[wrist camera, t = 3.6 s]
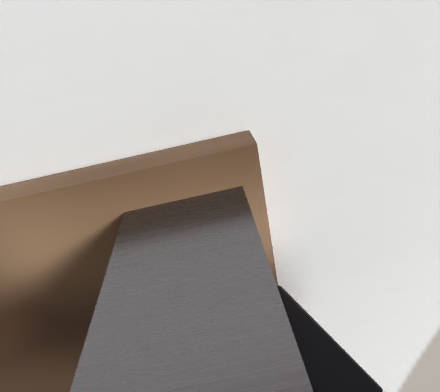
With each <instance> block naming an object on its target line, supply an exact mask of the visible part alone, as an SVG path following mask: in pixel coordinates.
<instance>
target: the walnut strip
mask: <svg viewBox="0 0 440 392" xmlns="http://www.w3.org/2000/svg"><path fill="white" fill-rule="evenodd" d="M277 285H278V284H277V277H276V270H275V263H274V257H273V250H272V243H271V236H270V229H269V223H268V216H267V209H266V202H265V196H264V189H263V182H262V175H261V169H260V162H259V155H258V148H257V143H256V141H255V140H254V138H253V136H252V134H251V133H250V131H249V130H248V131H244V132H239V133H235V134H230V135H226V136H221V137H217V138H213V139H208V140H204V141H199V142H195V143H190V144H186V145H182V146H177V147H173V148H168V149H164V150H159V151H155V152H151V153H146V154H142V155H137V156H133V157H128V158H124V159H120V160H115V161H111V162H106V163H102V164H97V165H93V166H89V167H84V168H80V169H75V170H71V171H67V172H62V173H58V174H53V175H49V176H44V177H40V178H36V179H31V180H27V181H22V182H18V183H13V184H9V185H5V186H0V392H313V389H312V386H311V383H310V380H309V377H308V375H307V372H306V369H305V366H304V363H303V360H302V357H301V354H300V351H299V348H298V345H297V343H296V340H295V337H294V334H293V331H292V328H291V325H290V322H289V319H288V316H287V314H286V311H285V308H284V305H283V302H282V299H281V296H280V293H279V290H278V287H277Z"/></svg>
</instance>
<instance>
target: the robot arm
mask: <svg viewBox="0 0 440 392" xmlns="http://www.w3.org/2000/svg"><path fill="white" fill-rule="evenodd" d="M277 287H278V290H279V293H280V296H281V299H282V302H283V305H284V308H285V311H286V314H287V316H288V319H289V322H290V325H291V328H292V331H293V334H294V337H295V340H296V343H297V345H298V348H299V351H300V354H301V357H302V360H303V363H304V366H305V369H306V372H307V375H308V377H309V380H310V383H311V386H312V389H313V392H383V389H382V388H381V387H380V386H379V385H378V384H377V383H376V382H375V381H374V380H373V379H372V378H371V377H370V376H369V375H368V374H367V373H366V372H365V371H364V370H363V369H362V368H361V367H360V366H359V365H358V364H357V362H356V361H355V360H354V359H353V358H352V357H351V356H350V355H349V354H348V353H347V352H346V351H345V350H344V349H343V348H342V347H341V346H340V345H339V344H338V343H337V342H336V341H335V340H334V339H333V338H332V337H331V336H330V335H329V334H328V333H327V332H326V331H325V330H324V329H323V328H322V327H321V326H320V325H319V324H318V323H317V322H316V321H315V320H314V319H313V318H312V317H311V316H310V315H309V314H308V313H307V312H306V311H305V310H304V309H303V308H302V307H301V306H300V305H299V304H298V303H297V302H296V301H295V300H294V299H293V298H292V297H291V296H290V295H289V294H288V293H287V292H286V291H285V290H284V289H283V288H282V287H281V286H279V285H277Z"/></svg>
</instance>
